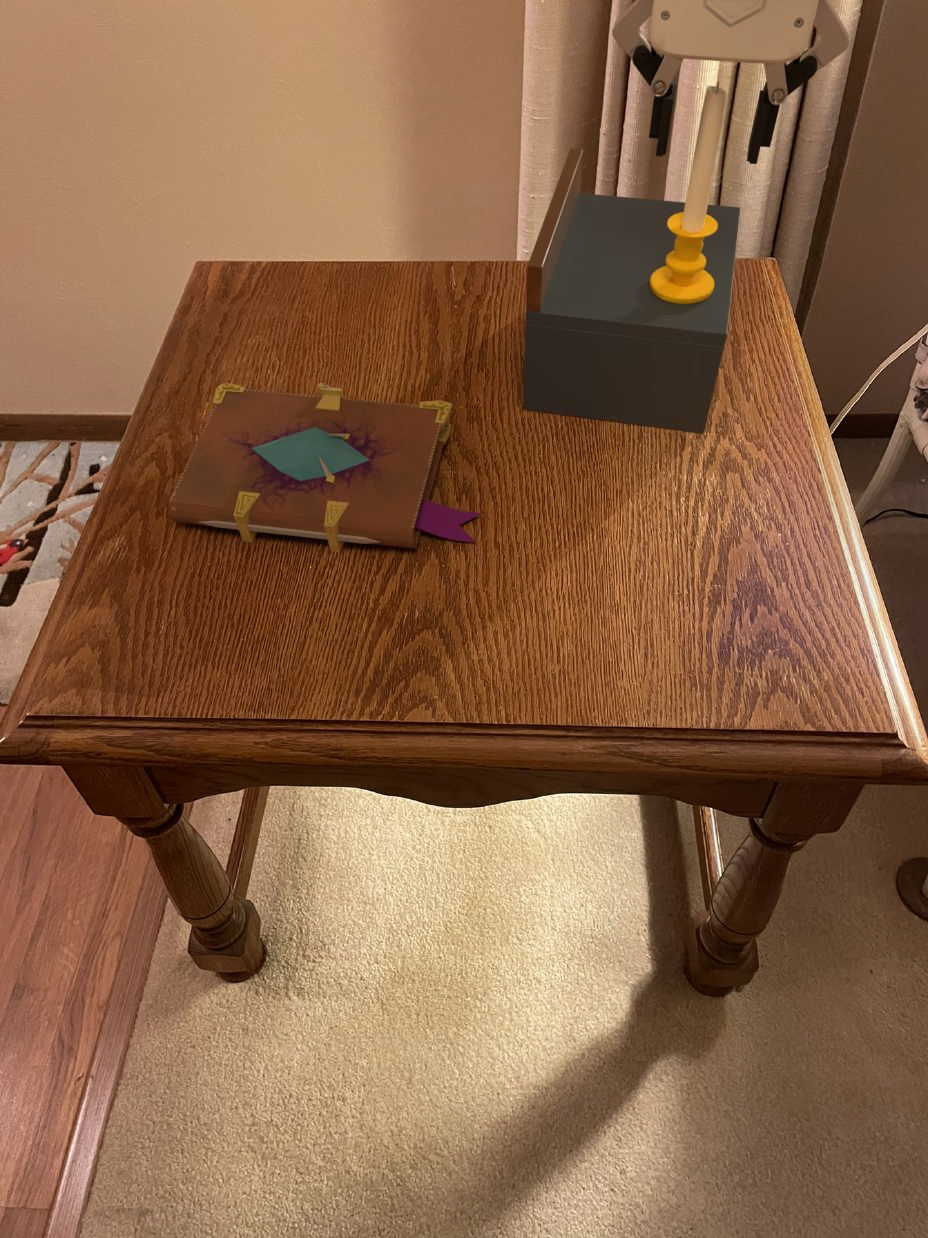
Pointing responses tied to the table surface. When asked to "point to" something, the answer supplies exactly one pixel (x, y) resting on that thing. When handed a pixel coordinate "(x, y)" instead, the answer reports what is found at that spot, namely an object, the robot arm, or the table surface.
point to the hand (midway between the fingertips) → (707, 149)
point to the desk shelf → (621, 311)
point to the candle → (694, 215)
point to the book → (319, 469)
